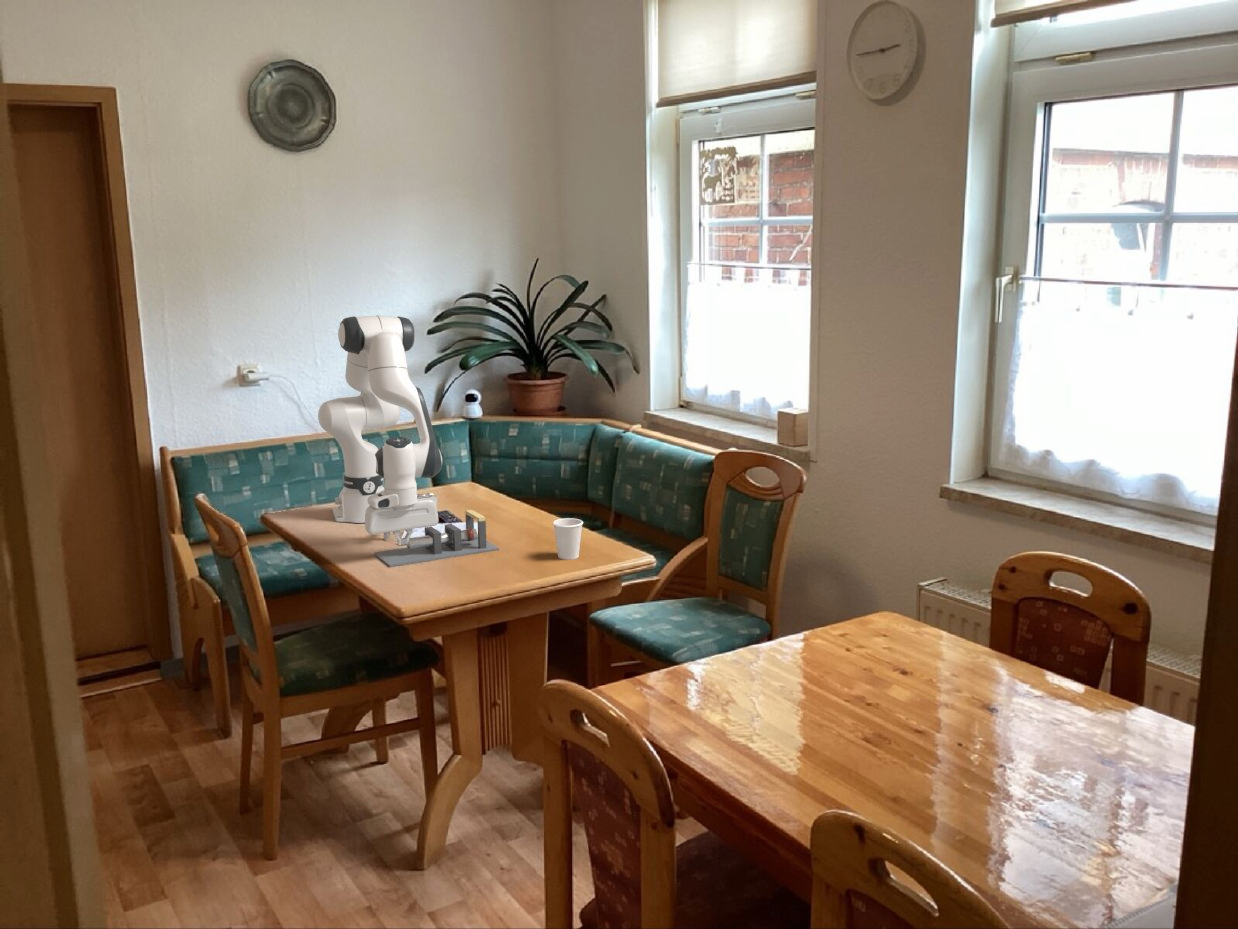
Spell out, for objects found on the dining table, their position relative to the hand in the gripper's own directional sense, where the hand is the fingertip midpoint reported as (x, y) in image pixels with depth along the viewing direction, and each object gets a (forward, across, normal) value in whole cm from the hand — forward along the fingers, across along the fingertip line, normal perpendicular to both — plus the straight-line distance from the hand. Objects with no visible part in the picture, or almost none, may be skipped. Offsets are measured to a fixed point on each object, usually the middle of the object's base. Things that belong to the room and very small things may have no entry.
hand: (403, 544), depth 297 cm
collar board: (+4, -10, 0) cm, 10 cm away
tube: (+2, -11, 0) cm, 12 cm away
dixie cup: (+4, -40, +23) cm, 46 cm away
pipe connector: (+4, -2, -20) cm, 20 cm away
